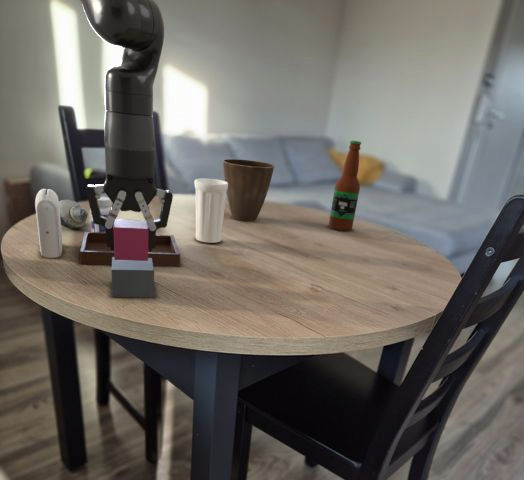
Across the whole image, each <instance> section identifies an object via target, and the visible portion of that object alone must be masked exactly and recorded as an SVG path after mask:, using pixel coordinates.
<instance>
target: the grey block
mask: <svg viewBox="0 0 524 480" xmlns="http://www.w3.org/2000/svg"><path fill="white" fill-rule="evenodd" d="M110 270H111V271H110V272H111V291H112V292H111V295H112V296H111V297H112V298H155V268H154V266H153V262H152V258H148V261H138V260H115V257H112V265H111V269H110Z"/></svg>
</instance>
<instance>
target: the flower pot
mask: <svg viewBox="0 0 524 480" xmlns="http://www.w3.org/2000/svg"><path fill="white" fill-rule="evenodd" d="M222 165H223V166H222V167H223V168H222V169H223V179H224V180H223V181H226V182H228V189H227V191H226V199H227V202H228V203H227V204H228V206H229V211H230V214H231V217H232V219H234V220H237V221H241V222H255V221H256V220H257V219H258V217H259V215H260V213H261V210H262V208H263V206H264V203H265V201H266V198H267V194H268V192H269V189H270V185H271V182H272V178H273V173H274V170H275V164H272V163H269V162H262V161H256V160H249V159H239V158H238V159H234V158H228V159H226V158H225V159H223V160H222Z"/></svg>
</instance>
